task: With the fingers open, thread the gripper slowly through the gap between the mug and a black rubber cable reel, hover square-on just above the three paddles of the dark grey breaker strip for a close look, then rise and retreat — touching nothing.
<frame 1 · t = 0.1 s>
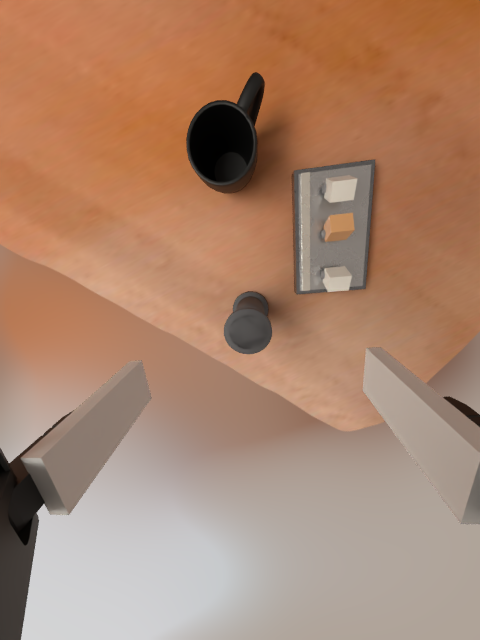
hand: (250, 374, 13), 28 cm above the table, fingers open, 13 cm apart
mug: (237, 160, 34), on the table
paddle mid: (337, 229, 31), point 5 cm above the table, hinge at -22.0°
paddle 1: (335, 278, 33), point 5 cm above the table, hinge at 22.0°
breaker strip: (327, 234, 36), on the table
cable reel: (250, 308, 41), on the table
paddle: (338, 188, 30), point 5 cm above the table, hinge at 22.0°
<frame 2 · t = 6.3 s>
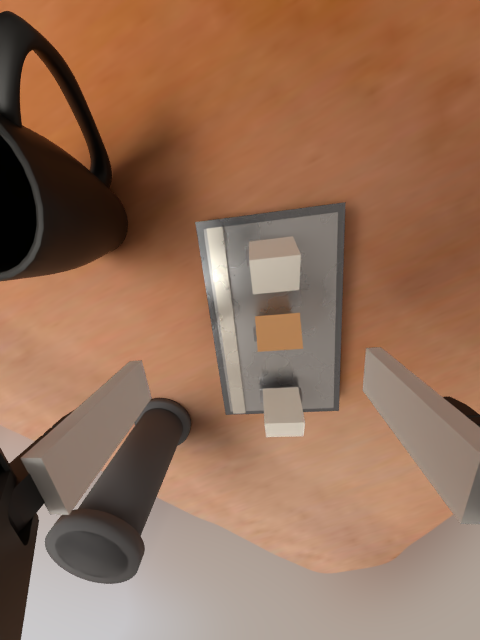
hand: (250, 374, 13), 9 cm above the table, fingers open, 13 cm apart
mug: (107, 199, 19), on the table
paddle mid: (277, 332, 17), point 5 cm above the table, hinge at -22.0°
paddle 1: (281, 408, 19), point 5 cm above the table, hinge at 22.0°
breaker strip: (273, 319, 21), on the table
cable reel: (164, 420, 26), on the table
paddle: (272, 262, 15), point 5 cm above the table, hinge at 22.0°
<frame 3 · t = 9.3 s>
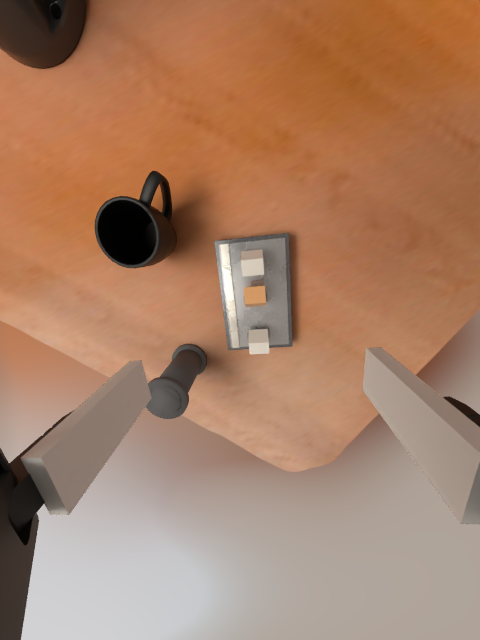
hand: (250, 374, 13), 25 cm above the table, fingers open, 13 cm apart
mug: (166, 227, 35), on the table
paddle mid: (255, 297, 33), point 5 cm above the table, hinge at -22.0°
paddle 1: (258, 340, 35), point 5 cm above the table, hinge at 22.0°
breaker strip: (255, 294, 37), on the table
cable reel: (190, 359, 42), on the table
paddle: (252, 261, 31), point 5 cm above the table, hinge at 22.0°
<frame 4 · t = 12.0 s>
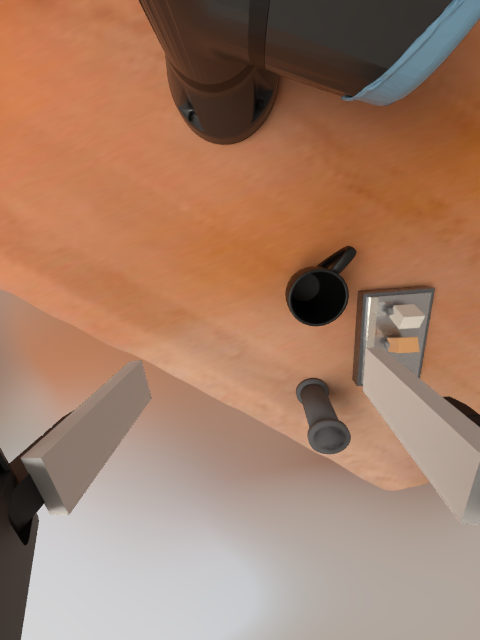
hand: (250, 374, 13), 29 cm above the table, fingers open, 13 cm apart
mug: (311, 278, 39), on the table
paddle mid: (401, 344, 37), point 5 cm above the table, hinge at -22.0°
breaker strip: (385, 336, 41), on the table
cable reel: (311, 391, 46), on the table
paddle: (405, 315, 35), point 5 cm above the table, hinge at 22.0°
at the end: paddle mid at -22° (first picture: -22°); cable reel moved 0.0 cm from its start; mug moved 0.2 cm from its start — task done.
